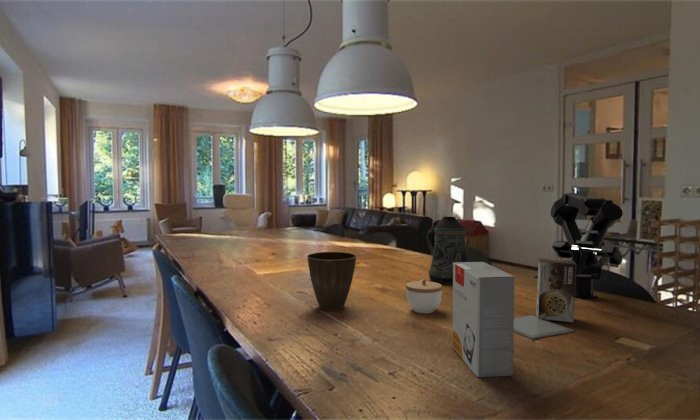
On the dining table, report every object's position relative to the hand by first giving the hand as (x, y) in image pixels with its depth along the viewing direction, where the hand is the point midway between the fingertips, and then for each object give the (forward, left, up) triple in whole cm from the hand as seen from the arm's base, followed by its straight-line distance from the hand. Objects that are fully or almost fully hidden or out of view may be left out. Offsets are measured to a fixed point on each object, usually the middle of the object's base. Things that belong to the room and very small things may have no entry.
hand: (575, 274), depth 128 cm
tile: (+23, +7, -11) cm, 26 cm away
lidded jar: (+41, -17, -11) cm, 46 cm away
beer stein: (+11, -49, -11) cm, 52 cm away
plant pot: (+65, -31, -11) cm, 73 cm away
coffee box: (+12, +4, -11) cm, 17 cm away
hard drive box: (+50, +20, -11) cm, 55 cm away
